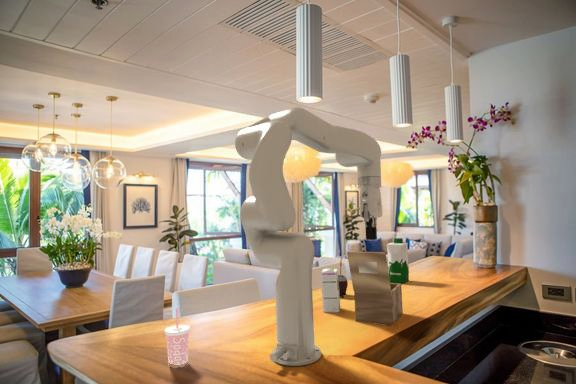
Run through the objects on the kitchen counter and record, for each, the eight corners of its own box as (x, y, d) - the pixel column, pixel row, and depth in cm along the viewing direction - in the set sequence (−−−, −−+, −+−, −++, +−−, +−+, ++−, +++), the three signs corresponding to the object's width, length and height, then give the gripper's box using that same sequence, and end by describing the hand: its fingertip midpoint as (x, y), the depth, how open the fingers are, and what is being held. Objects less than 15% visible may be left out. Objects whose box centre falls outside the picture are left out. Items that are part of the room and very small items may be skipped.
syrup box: (339, 312, 133) (337, 271, 133) (322, 312, 134) (320, 271, 134) (340, 308, 138) (338, 268, 139) (324, 307, 139) (322, 268, 140)
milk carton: (411, 280, 179) (409, 238, 179) (405, 284, 171) (402, 240, 172) (393, 279, 184) (391, 237, 184) (386, 282, 176) (384, 239, 177)
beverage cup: (162, 370, 92) (160, 312, 92) (170, 359, 98) (168, 305, 98) (187, 369, 92) (185, 311, 92) (193, 359, 98) (191, 304, 98)
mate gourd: (335, 298, 152) (333, 261, 152) (327, 294, 159) (325, 258, 160) (352, 296, 154) (350, 259, 155) (343, 292, 162) (341, 257, 162)
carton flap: (391, 293, 117) (390, 294, 116) (354, 290, 123) (353, 291, 122) (385, 252, 113) (385, 253, 113) (347, 251, 119) (346, 252, 118)
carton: (393, 325, 117) (391, 293, 117) (355, 321, 122) (354, 290, 123) (402, 313, 129) (401, 283, 129) (368, 309, 135) (366, 281, 135)
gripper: (374, 181, 115) (376, 242, 114) (386, 183, 128) (388, 237, 127) (350, 182, 118) (352, 241, 118) (365, 184, 131) (366, 237, 131)
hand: (371, 239), depth 122 cm, fingers closed
